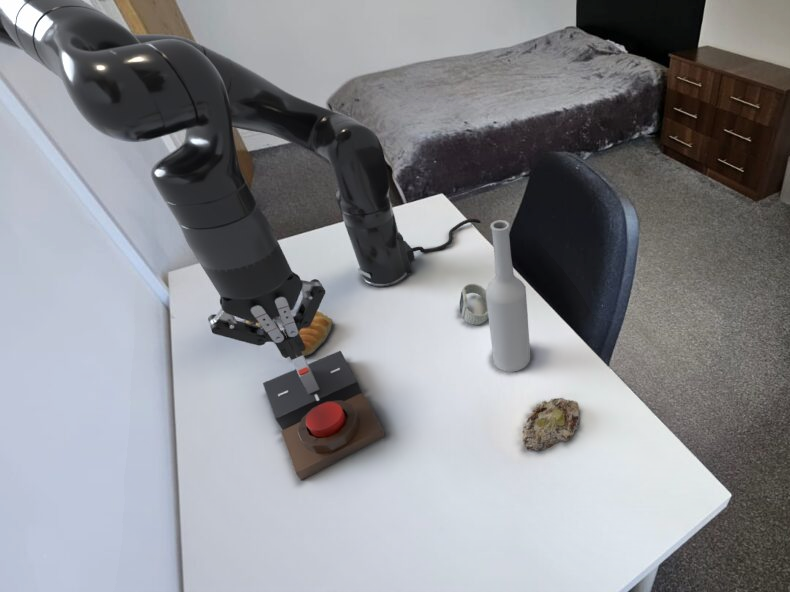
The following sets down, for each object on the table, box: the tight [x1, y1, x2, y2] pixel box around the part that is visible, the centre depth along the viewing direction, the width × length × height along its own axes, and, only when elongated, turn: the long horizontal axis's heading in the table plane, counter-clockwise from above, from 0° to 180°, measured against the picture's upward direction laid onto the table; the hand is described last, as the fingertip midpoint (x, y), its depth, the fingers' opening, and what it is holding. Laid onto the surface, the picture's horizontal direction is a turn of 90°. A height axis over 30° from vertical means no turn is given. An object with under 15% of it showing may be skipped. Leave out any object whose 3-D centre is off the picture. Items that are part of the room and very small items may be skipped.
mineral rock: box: [522, 397, 580, 451], centre depth 73 cm, size 11×4×8 cm
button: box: [306, 402, 346, 438], centre depth 68 cm, size 5×5×2 cm
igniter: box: [280, 392, 386, 481], centre depth 70 cm, size 12×8×4 cm
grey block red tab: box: [292, 355, 319, 394], centre depth 74 cm, size 5×2×4 cm, turn 38°
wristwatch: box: [459, 283, 489, 326], centre depth 92 cm, size 9×6×5 cm
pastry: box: [295, 310, 333, 357], centre depth 85 cm, size 9×7×4 cm
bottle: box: [485, 219, 531, 373], centre depth 76 cm, size 7×7×28 cm
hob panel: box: [262, 350, 363, 431], centre depth 76 cm, size 12×9×3 cm
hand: (296, 353), depth 63 cm, fingers closed
